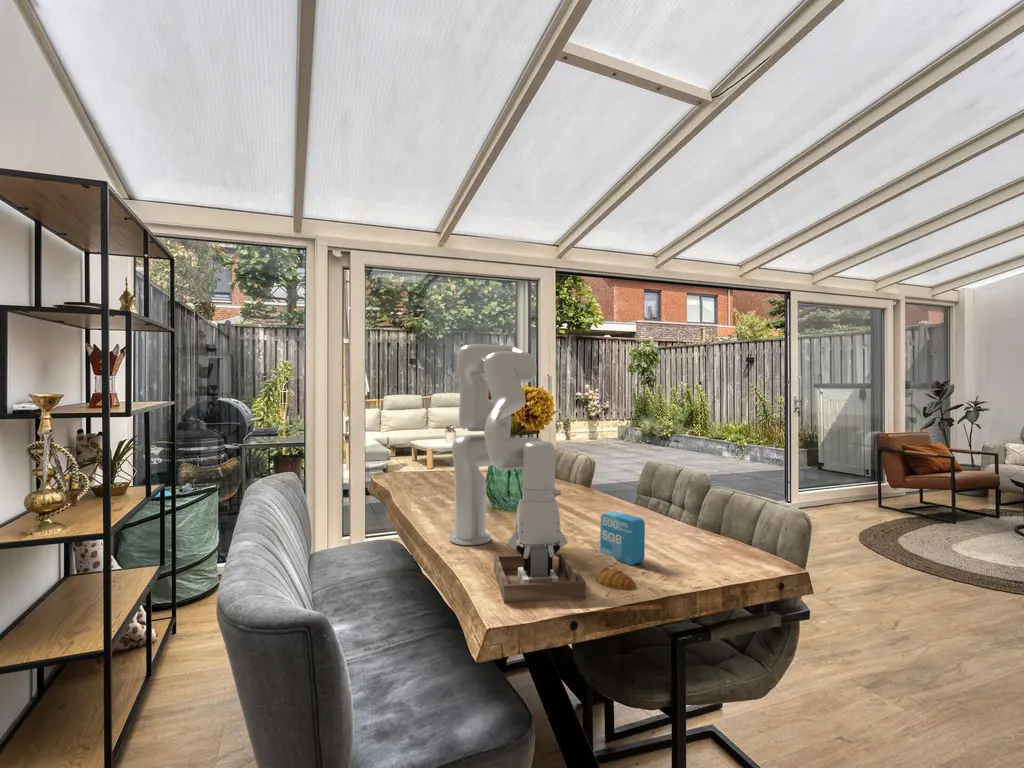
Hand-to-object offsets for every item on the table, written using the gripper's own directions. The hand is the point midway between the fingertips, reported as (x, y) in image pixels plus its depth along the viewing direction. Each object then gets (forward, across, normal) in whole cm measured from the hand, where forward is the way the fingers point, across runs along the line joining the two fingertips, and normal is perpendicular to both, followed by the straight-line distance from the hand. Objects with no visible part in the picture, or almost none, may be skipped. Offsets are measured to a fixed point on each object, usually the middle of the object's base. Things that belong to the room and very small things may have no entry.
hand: (537, 572), depth 126 cm
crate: (+4, 0, -1) cm, 4 cm away
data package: (+4, -27, -18) cm, 33 cm away
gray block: (+2, 0, 0) cm, 2 cm away
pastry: (+4, -19, 0) cm, 19 cm away
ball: (+3, -4, -7) cm, 9 cm away
